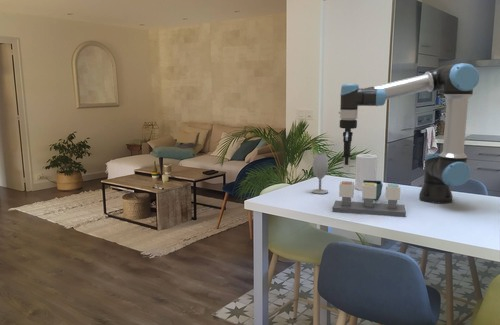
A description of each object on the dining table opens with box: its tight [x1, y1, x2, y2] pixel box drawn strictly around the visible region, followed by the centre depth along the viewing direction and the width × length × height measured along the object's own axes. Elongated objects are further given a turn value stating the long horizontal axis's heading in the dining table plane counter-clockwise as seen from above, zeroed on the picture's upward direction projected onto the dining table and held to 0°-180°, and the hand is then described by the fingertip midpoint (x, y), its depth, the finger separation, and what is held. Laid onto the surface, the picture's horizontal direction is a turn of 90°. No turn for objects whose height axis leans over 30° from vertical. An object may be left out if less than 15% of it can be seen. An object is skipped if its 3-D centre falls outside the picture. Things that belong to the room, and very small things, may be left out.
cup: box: [354, 153, 378, 191], centre depth 235 cm, size 11×11×18 cm
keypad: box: [331, 197, 407, 218], centre depth 193 cm, size 31×13×7 cm, turn 73°
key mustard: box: [361, 182, 377, 199], centre depth 192 cm, size 6×6×6 cm
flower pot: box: [363, 180, 383, 202], centre depth 212 cm, size 9×9×9 cm
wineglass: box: [311, 152, 329, 195], centre depth 227 cm, size 9×9×21 cm
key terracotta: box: [338, 180, 355, 198], centre depth 195 cm, size 6×6×6 cm
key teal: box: [385, 183, 402, 201], centre depth 190 cm, size 6×6×6 cm
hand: (346, 171), depth 194 cm, fingers closed
